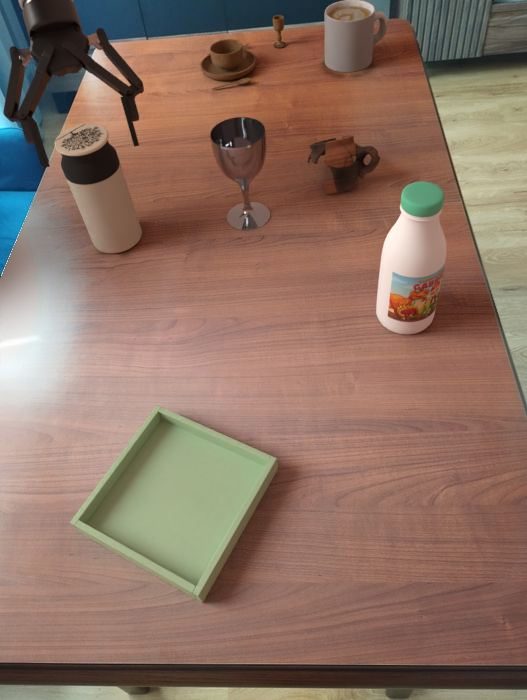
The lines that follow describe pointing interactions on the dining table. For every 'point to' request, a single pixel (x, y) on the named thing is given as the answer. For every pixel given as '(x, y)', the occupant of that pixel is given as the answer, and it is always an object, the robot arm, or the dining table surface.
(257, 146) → the wine glass
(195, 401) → the dining table surface
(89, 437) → the dining table surface
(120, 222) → the travel mug
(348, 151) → the pottery mug
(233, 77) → the place setting
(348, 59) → the coffee mug
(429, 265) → the milk bottle
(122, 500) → the tray
